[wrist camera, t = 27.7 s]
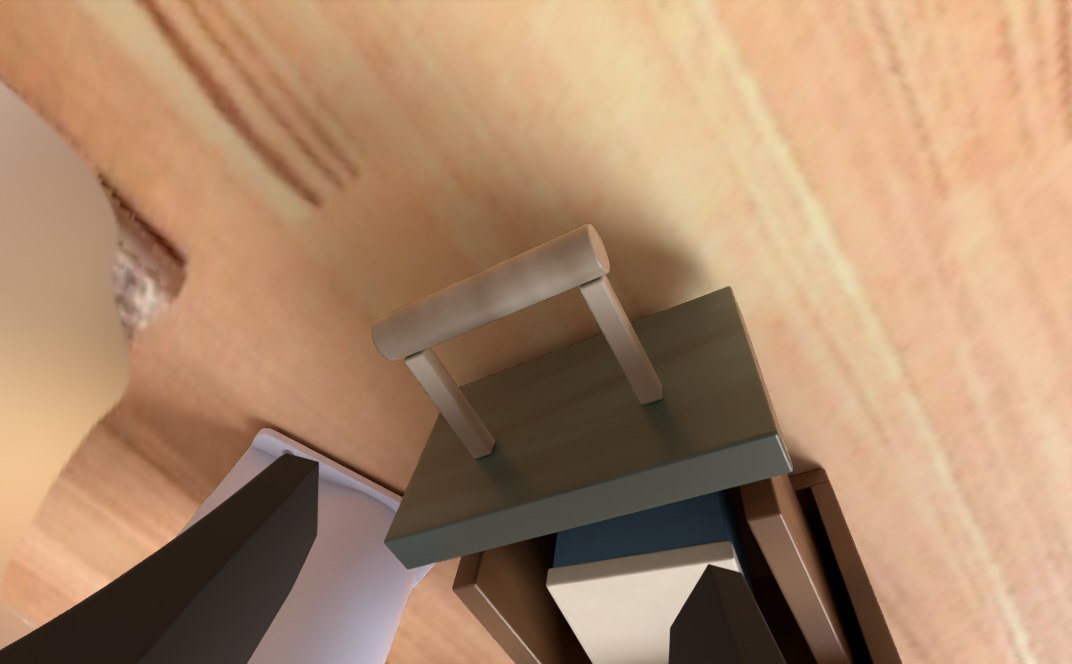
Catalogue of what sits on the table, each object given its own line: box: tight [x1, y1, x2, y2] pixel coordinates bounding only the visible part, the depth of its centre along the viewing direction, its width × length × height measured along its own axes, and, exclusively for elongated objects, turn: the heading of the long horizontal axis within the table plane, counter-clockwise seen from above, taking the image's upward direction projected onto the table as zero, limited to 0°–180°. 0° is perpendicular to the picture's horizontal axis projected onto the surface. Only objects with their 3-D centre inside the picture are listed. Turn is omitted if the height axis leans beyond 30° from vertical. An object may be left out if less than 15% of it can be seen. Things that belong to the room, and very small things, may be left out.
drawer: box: [372, 224, 859, 664], centre depth 18 cm, size 17×10×7 cm, turn 28°
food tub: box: [546, 489, 754, 664], centre depth 19 cm, size 4×5×5 cm
